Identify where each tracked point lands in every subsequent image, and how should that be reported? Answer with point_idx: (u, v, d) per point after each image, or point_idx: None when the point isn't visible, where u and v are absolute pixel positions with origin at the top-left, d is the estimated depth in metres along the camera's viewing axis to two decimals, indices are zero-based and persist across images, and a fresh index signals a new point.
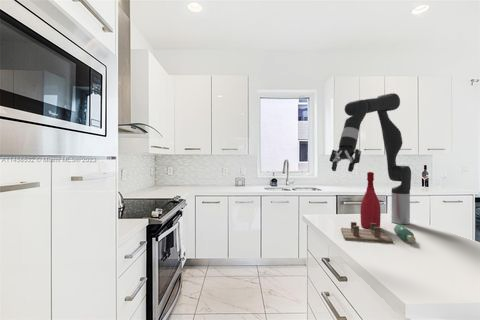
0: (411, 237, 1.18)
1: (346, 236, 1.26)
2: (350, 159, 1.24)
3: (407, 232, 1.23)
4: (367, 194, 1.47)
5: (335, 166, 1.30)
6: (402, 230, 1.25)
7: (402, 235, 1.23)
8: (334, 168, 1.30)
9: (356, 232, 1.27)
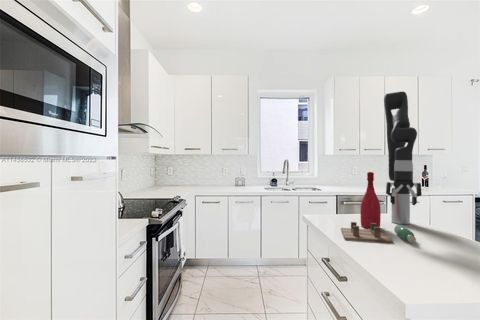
0: (411, 237, 1.18)
1: (346, 236, 1.26)
2: (414, 194, 1.26)
3: (408, 232, 1.22)
4: (367, 194, 1.47)
5: None
6: (403, 230, 1.25)
7: (402, 235, 1.23)
8: None
9: (356, 232, 1.27)
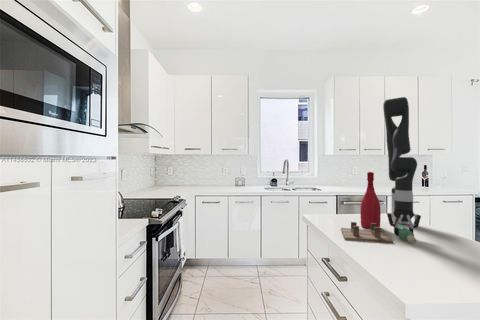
0: (411, 237, 1.18)
1: (346, 236, 1.26)
2: (410, 225, 1.26)
3: (407, 232, 1.22)
4: (367, 194, 1.47)
5: None
6: (402, 230, 1.25)
7: (402, 235, 1.23)
8: None
9: (356, 232, 1.27)
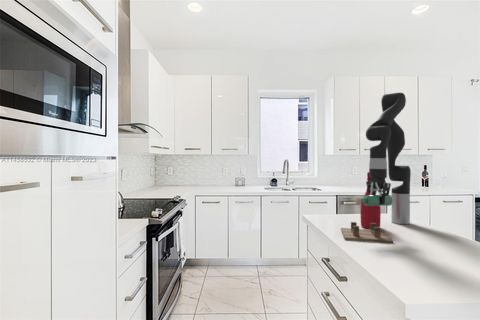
0: (357, 199, 1.28)
1: (346, 236, 1.26)
2: (379, 193, 1.27)
3: (366, 197, 1.29)
4: (367, 194, 1.47)
5: None
6: None
7: None
8: None
9: (356, 232, 1.27)
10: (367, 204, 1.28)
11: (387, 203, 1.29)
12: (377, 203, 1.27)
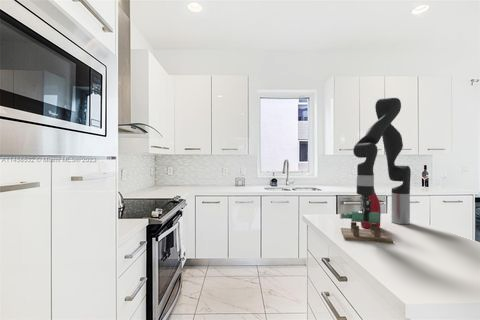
0: (340, 214, 1.34)
1: (346, 236, 1.26)
2: (363, 210, 1.29)
3: (351, 212, 1.32)
4: None
5: None
6: None
7: None
8: None
9: (356, 232, 1.27)
10: (351, 219, 1.32)
11: (373, 220, 1.28)
12: (361, 219, 1.29)
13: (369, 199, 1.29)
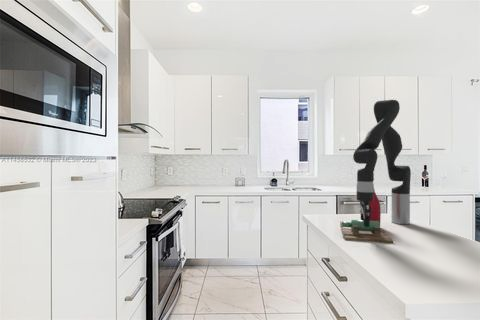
0: (340, 223, 1.34)
1: (346, 236, 1.26)
2: (363, 215, 1.27)
3: (351, 221, 1.32)
4: None
5: (363, 218, 1.35)
6: None
7: None
8: None
9: (356, 232, 1.27)
10: (351, 228, 1.32)
11: None
12: (361, 228, 1.29)
13: None
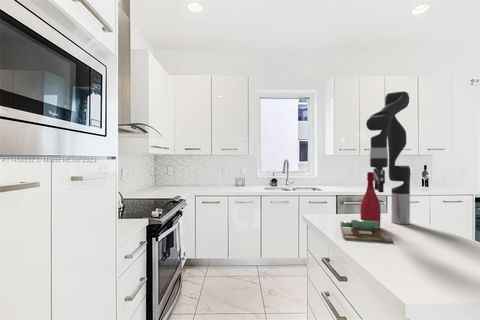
0: (340, 223, 1.34)
1: (346, 236, 1.26)
2: (377, 180, 1.28)
3: (351, 221, 1.32)
4: (367, 194, 1.47)
5: (377, 185, 1.35)
6: None
7: None
8: (376, 187, 1.35)
9: (356, 232, 1.27)
10: (351, 228, 1.32)
11: None
12: (361, 228, 1.29)
13: None
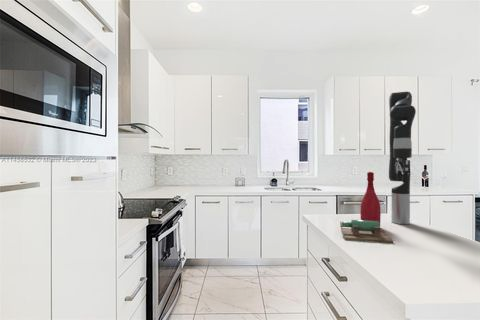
0: (340, 223, 1.34)
1: (346, 236, 1.26)
2: (402, 171, 1.27)
3: (351, 221, 1.33)
4: (367, 194, 1.47)
5: (400, 176, 1.34)
6: None
7: None
8: (399, 179, 1.34)
9: (356, 232, 1.27)
10: (351, 228, 1.32)
11: None
12: (361, 228, 1.29)
13: None
